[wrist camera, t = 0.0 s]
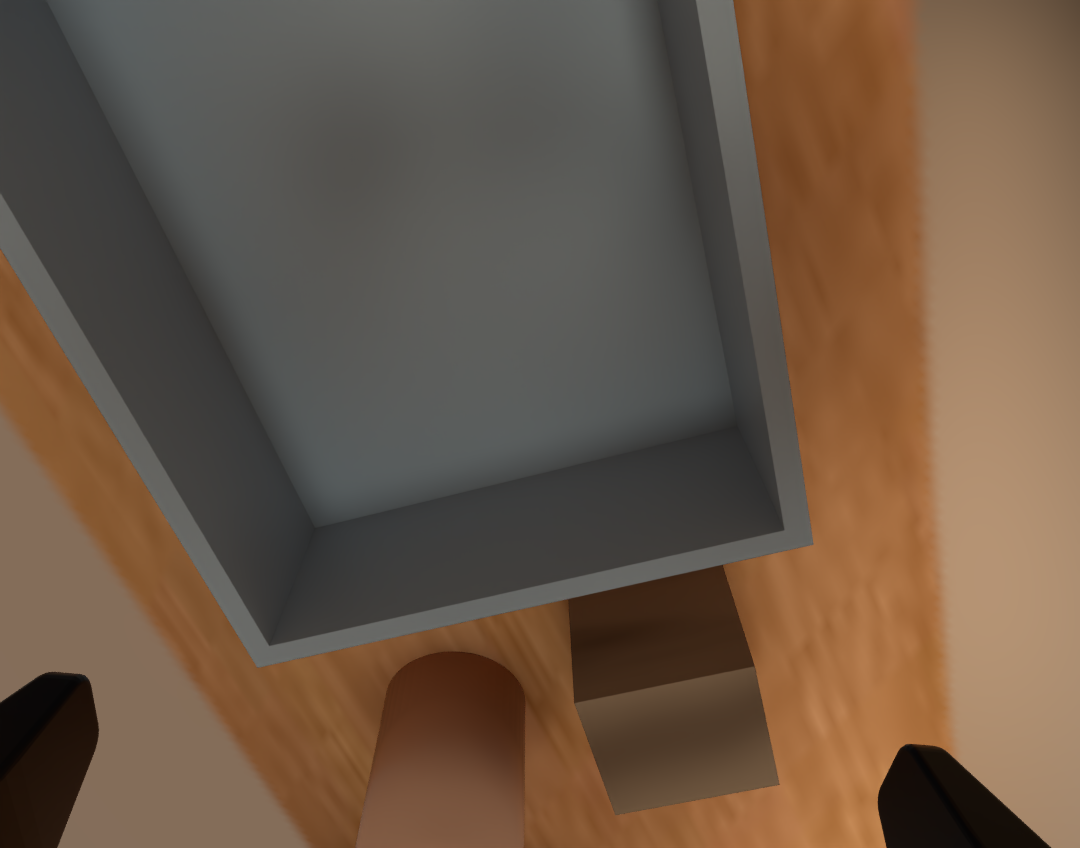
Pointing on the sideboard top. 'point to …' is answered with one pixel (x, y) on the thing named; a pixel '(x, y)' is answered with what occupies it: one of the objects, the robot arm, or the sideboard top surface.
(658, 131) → the tote
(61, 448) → the sideboard top surface
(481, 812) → the terracotta cylinder
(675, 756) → the walnut cube
